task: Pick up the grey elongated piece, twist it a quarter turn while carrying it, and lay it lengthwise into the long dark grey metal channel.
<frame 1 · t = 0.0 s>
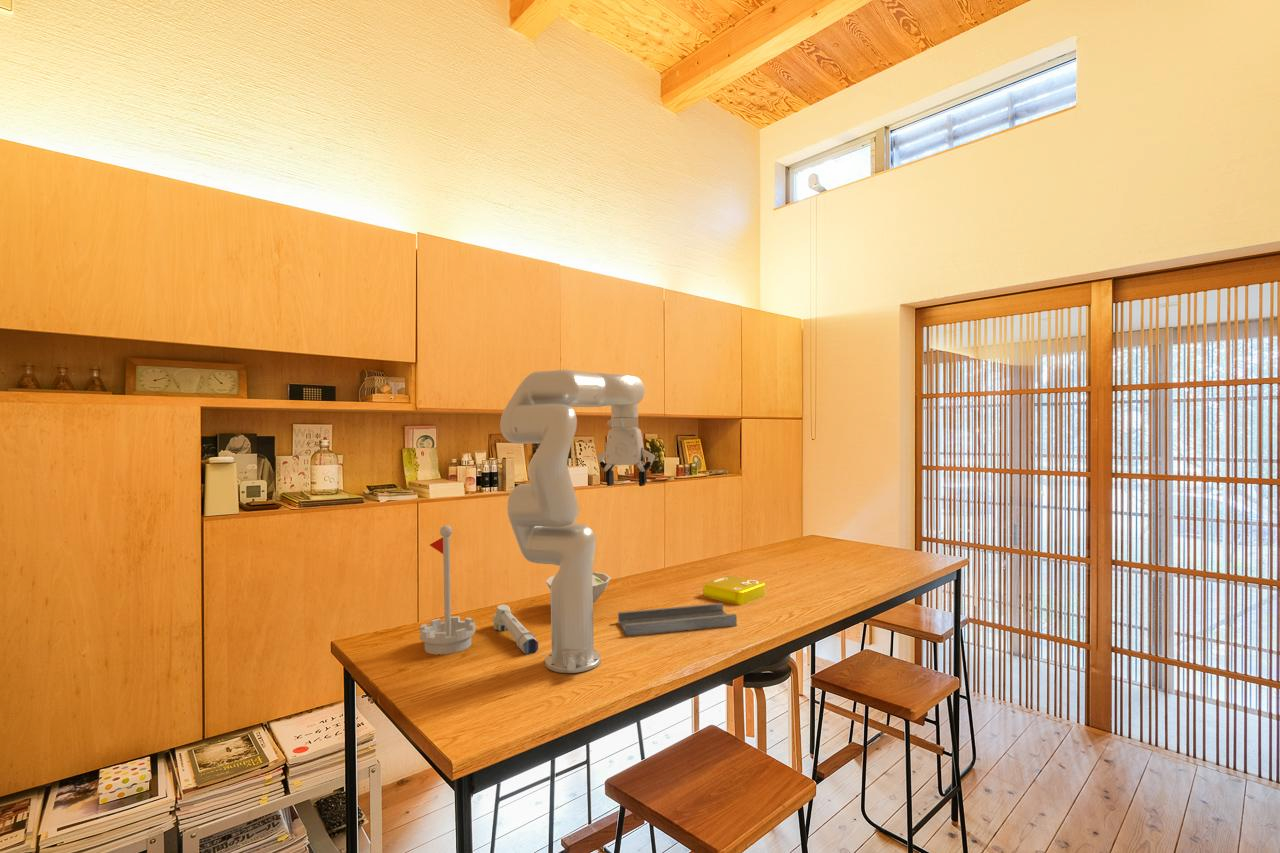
hand: (626, 485, 164), 37 cm above the table, tool pointing down, fingers open, 9 cm apart
flag stand: (448, 647, 145), on the table
bowl: (579, 609, 173), on the table
grey elongated piece: (514, 640, 150), on the table
element tile: (734, 597, 184), on the table
pipe channel: (676, 624, 158), on the table
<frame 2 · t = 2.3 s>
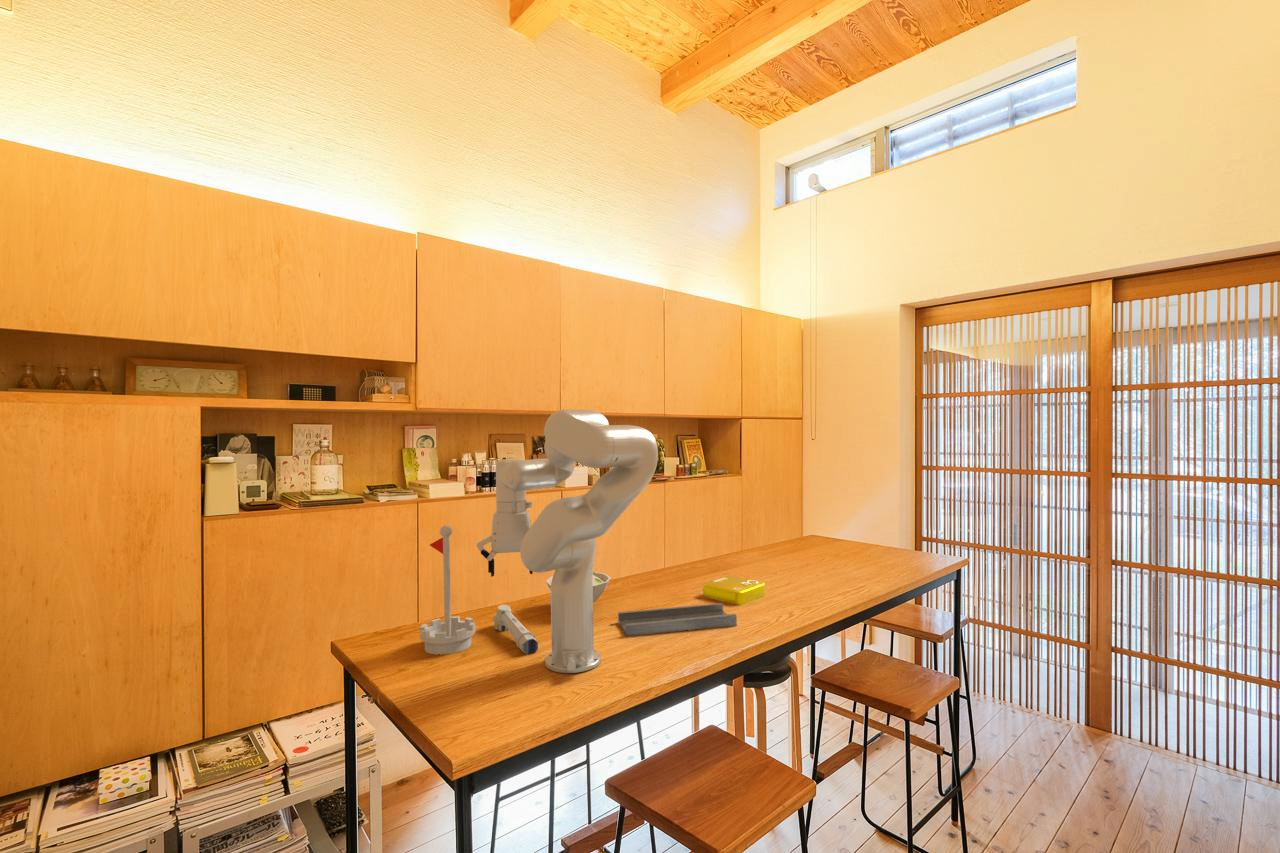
hand: (512, 574, 150), 16 cm above the table, tool pointing down, fingers open, 9 cm apart
nothing on the table moved.
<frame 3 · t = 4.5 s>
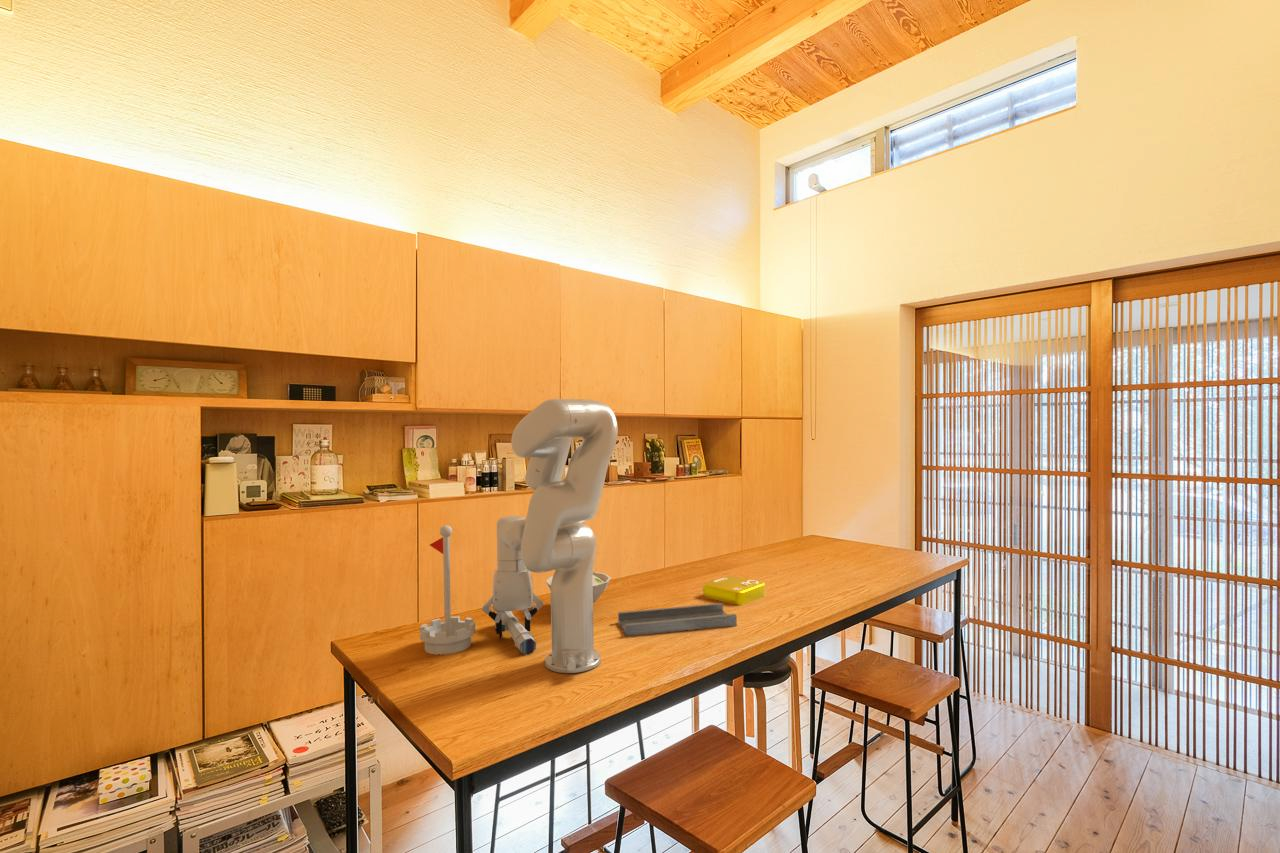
hand: (513, 634, 150), 1 cm above the table, tool pointing down, fingers closed on grey elongated piece, 5 cm apart
grey elongated piece: (514, 639, 150), on the table, touching gripper
everything else where it was.
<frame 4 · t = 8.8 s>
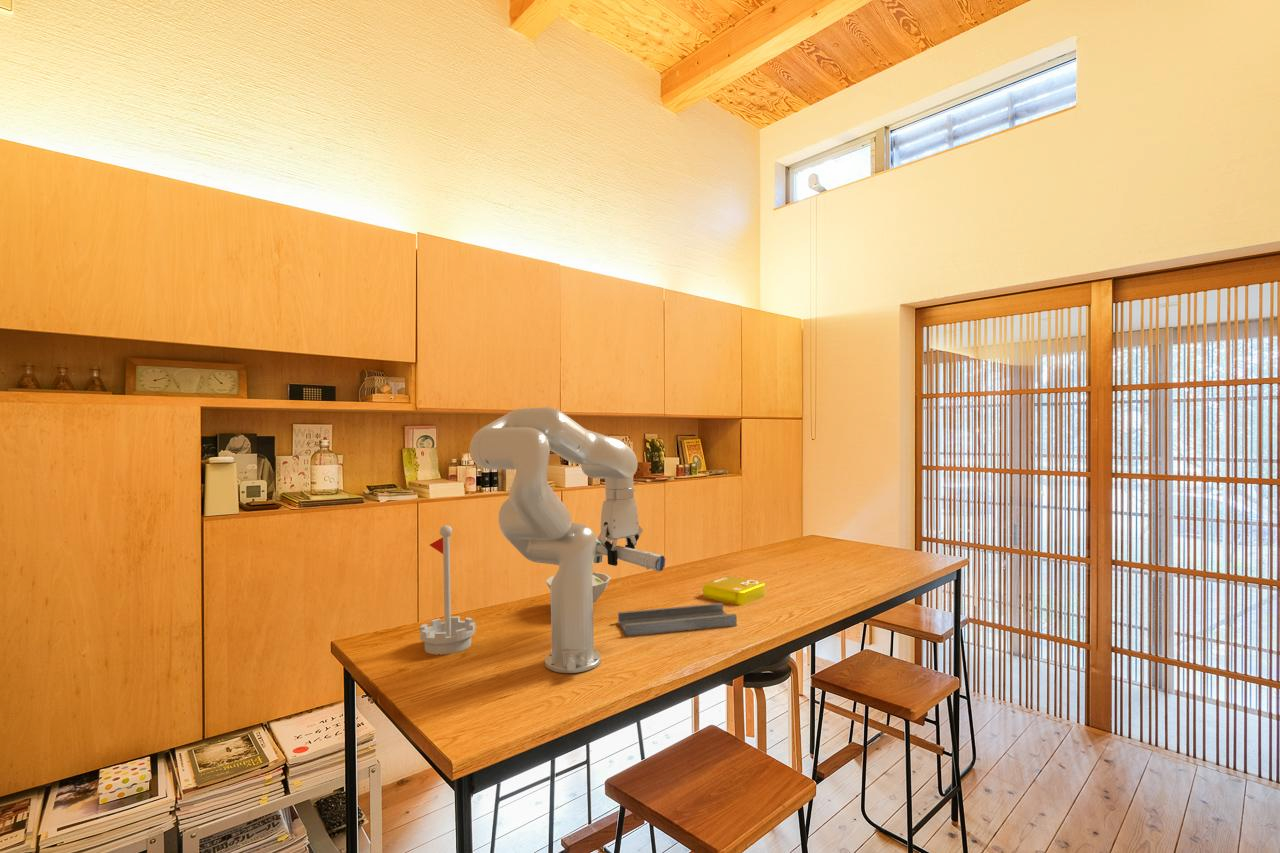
hand: (621, 561, 155), 18 cm above the table, tool pointing down, fingers closed on grey elongated piece, 5 cm apart
grey elongated piece: (621, 566, 155), point 17 cm above the table, touching gripper
everything else where it was.
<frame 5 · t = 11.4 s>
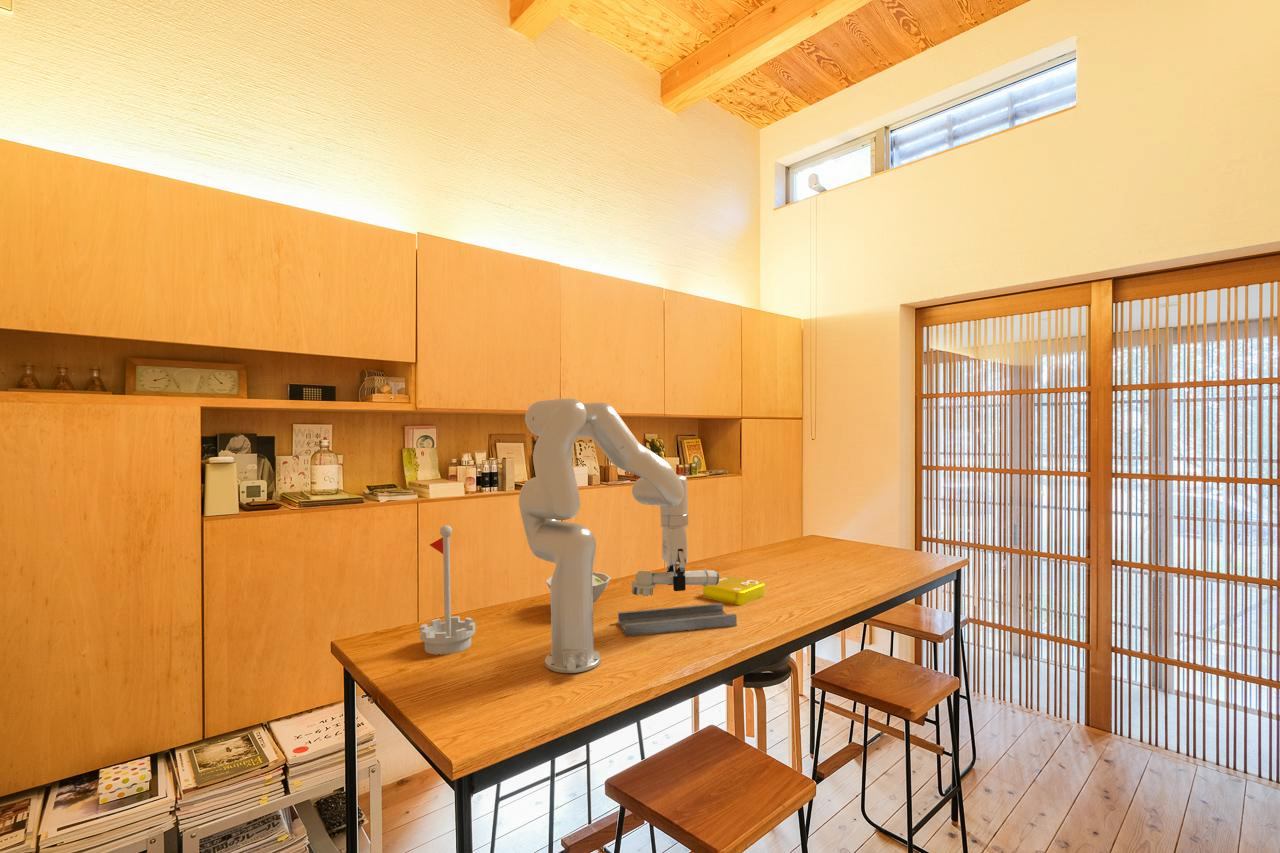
hand: (676, 586, 158), 10 cm above the table, tool pointing down, fingers closed on grey elongated piece, 5 cm apart
grey elongated piece: (675, 591, 158), point 9 cm above the table, touching gripper
everything else where it was.
when the fingers open (4 cm above the table, at t = 13.4 s): grey elongated piece drops 2 cm, resting on pipe channel.
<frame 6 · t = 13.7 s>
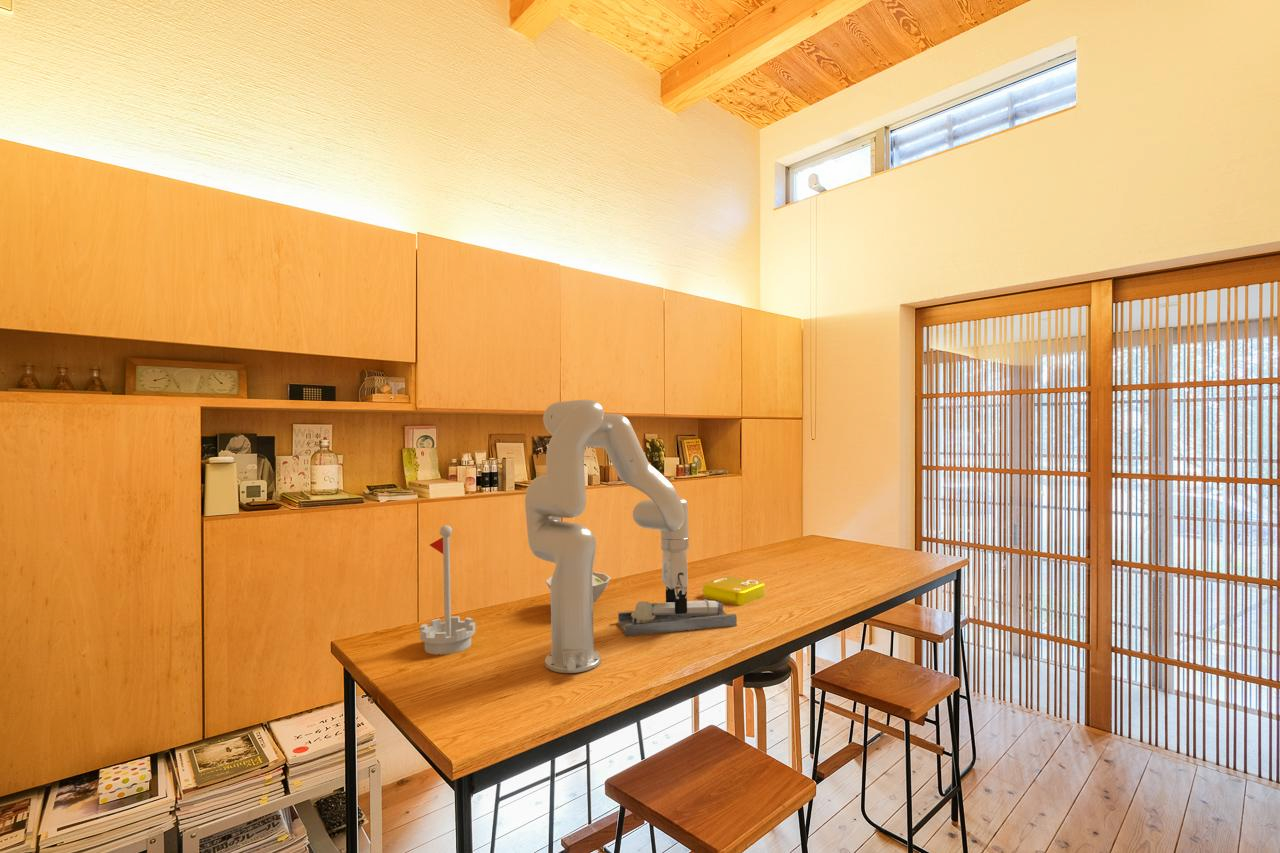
hand: (676, 608, 158), 4 cm above the table, tool pointing down, fingers open, 8 cm apart
grey elongated piece: (676, 621, 158), point 1 cm above the table, touching pipe channel
everything else where it was.
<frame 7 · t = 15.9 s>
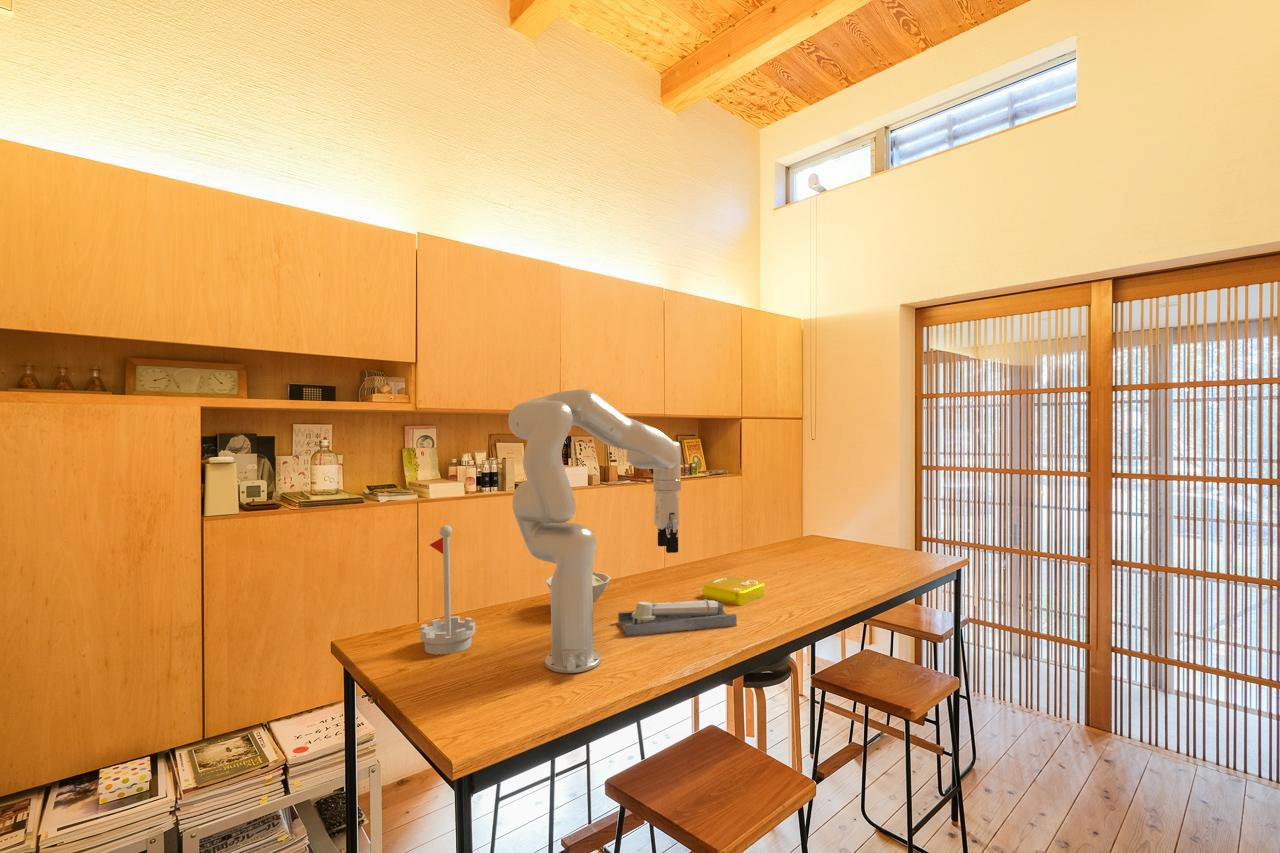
hand: (667, 549, 159), 20 cm above the table, tool pointing down, fingers open, 9 cm apart
nothing on the table moved.
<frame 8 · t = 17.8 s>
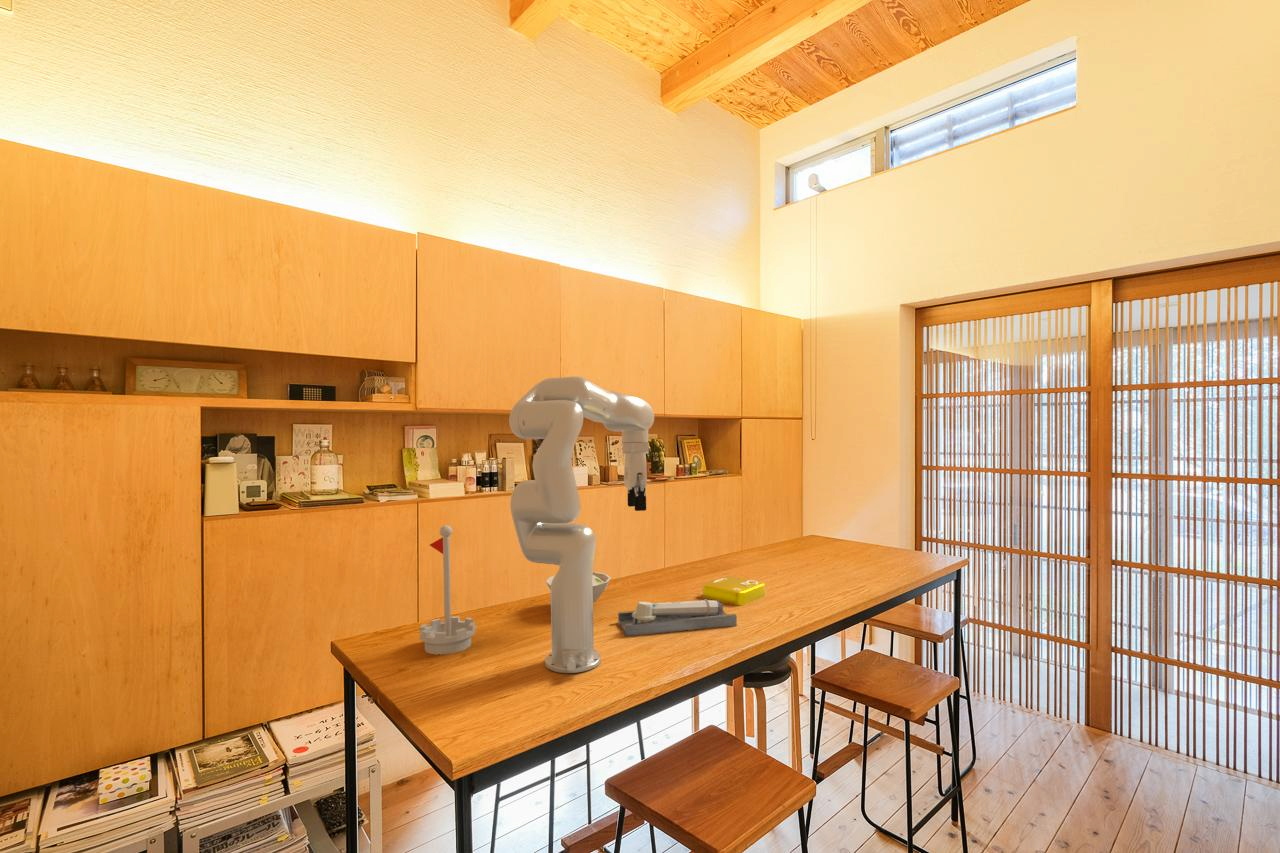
hand: (636, 508, 167), 30 cm above the table, tool pointing down, fingers open, 9 cm apart
nothing on the table moved.
at the end: grey elongated piece inside the target area on the pipe channel (0.4 cm from its centre), point 0.8 cm above the pipe channel's base; the gripper is holding nothing; grey elongated piece moved 43.0 cm from its start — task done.
